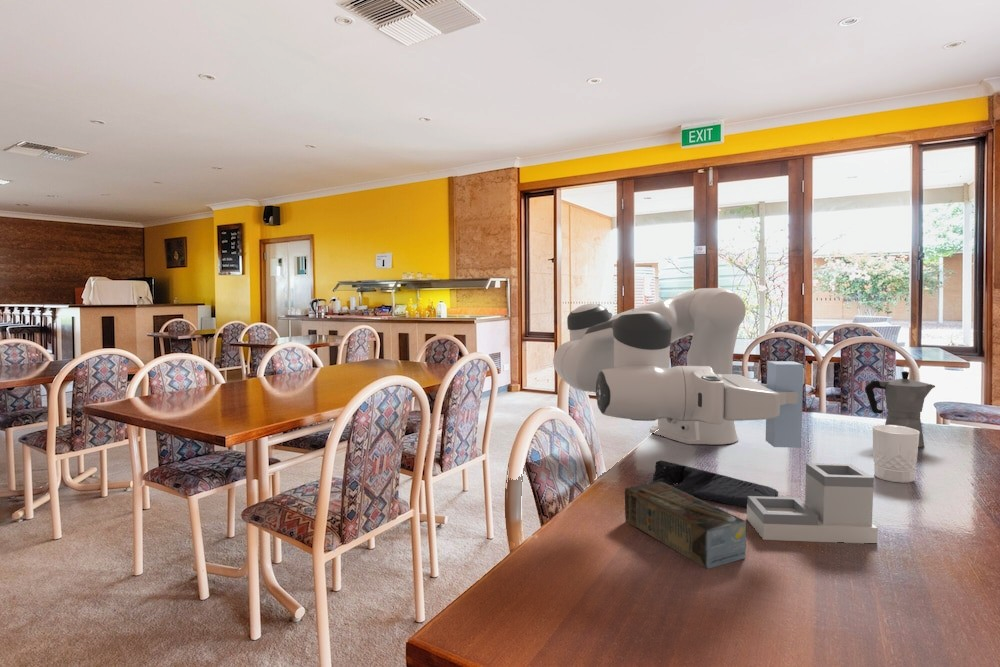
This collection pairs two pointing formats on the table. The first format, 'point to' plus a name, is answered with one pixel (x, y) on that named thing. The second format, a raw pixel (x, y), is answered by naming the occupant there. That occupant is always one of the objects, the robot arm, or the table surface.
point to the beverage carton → (686, 524)
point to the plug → (789, 421)
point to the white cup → (895, 452)
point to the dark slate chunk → (709, 484)
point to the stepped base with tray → (820, 508)
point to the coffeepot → (901, 401)
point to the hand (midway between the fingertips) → (789, 394)
